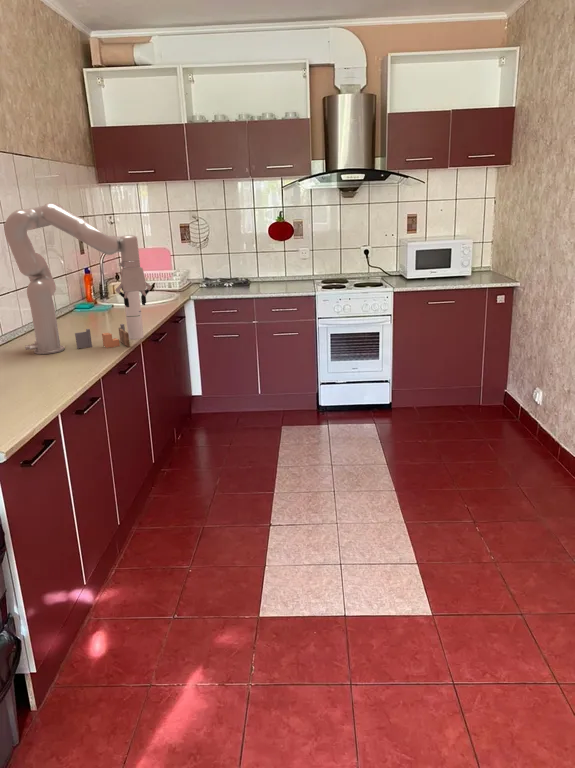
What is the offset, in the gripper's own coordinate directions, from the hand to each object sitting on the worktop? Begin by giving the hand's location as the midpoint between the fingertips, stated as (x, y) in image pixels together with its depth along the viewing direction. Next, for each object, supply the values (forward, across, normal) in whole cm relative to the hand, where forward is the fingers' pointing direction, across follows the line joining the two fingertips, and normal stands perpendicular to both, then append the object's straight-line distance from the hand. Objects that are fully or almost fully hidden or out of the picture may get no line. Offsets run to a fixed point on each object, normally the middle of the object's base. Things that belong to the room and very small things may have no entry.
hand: (135, 305), depth 260 cm
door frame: (+18, -15, +11) cm, 25 cm away
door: (+17, -6, +5) cm, 19 cm away
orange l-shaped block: (+18, -11, +5) cm, 22 cm away
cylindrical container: (+18, +3, +16) cm, 24 cm away
